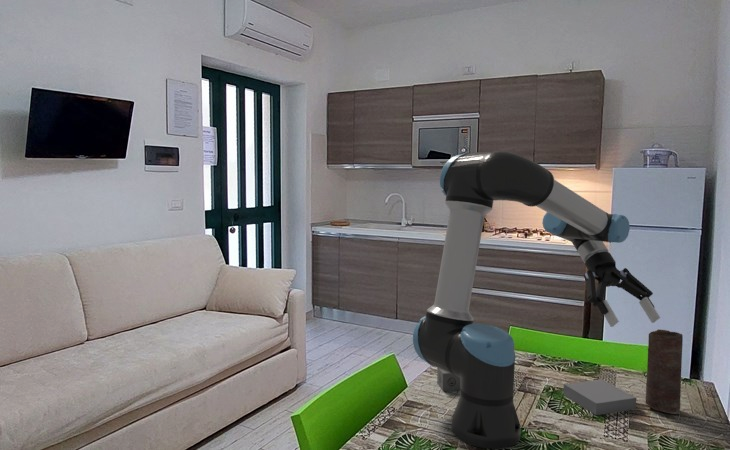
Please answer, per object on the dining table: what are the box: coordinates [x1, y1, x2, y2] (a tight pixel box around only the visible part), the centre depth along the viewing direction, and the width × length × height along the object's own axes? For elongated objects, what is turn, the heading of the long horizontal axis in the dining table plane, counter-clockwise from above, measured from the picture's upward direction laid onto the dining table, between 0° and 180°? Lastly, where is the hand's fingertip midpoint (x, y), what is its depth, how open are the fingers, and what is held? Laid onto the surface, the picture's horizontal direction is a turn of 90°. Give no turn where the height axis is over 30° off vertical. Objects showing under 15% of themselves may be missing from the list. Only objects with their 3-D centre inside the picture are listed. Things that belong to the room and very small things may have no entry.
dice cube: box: [436, 367, 461, 392], centre depth 134 cm, size 5×5×5 cm
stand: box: [562, 378, 637, 416], centre depth 125 cm, size 12×12×3 cm
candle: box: [645, 329, 684, 415], centre depth 120 cm, size 8×7×20 cm
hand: (635, 322), depth 129 cm, fingers open, 13 cm apart
